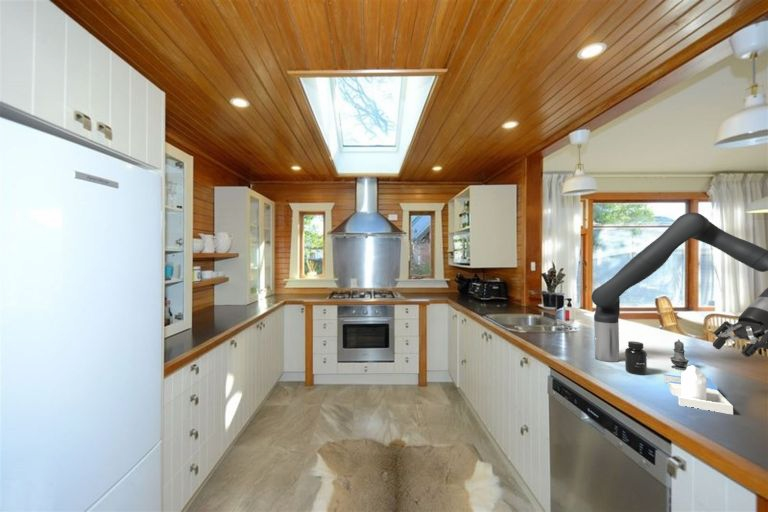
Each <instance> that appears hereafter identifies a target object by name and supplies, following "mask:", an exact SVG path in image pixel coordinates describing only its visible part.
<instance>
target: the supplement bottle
mask: <svg viewBox="0 0 768 512" xmlns="http://www.w3.org/2000/svg"><path fill="white" fill-rule="evenodd" d="M627 343H628V344H627V348H625V351H624V352H625V353H624V354H625V359H624V362H625V363H624V364H625V367H624V368H625V371H626V372H627V373H629V374H634V375H639V376H644V375H645V376H646V374H647V373H648V371H647V367H648V366H647V365H648V364H647V363H648V361H647V351H645V350H644V343H643V342H639V341H628V342H627Z"/></svg>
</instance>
